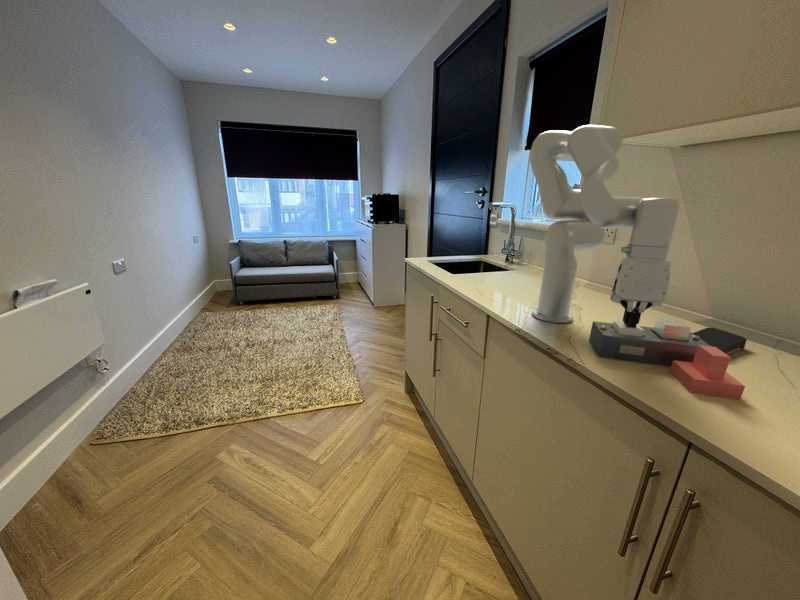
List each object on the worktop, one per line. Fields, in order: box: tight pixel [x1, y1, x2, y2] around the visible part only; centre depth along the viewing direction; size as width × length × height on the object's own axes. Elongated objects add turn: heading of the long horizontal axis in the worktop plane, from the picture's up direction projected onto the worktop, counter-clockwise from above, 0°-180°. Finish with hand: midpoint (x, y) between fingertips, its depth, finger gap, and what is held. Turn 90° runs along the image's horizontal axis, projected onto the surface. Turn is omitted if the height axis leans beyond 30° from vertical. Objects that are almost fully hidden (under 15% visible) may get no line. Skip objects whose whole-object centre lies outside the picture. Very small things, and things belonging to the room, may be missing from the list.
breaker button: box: [612, 320, 644, 337], centre depth 81 cm, size 5×5×4 cm
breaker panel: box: [588, 317, 710, 368], centre depth 79 cm, size 10×22×10 cm, turn 73°
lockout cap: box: [669, 345, 746, 400], centre depth 67 cm, size 8×8×8 cm
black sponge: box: [692, 327, 748, 355], centre depth 85 cm, size 16×8×4 cm, turn 115°
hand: (629, 325), depth 80 cm, fingers closed
